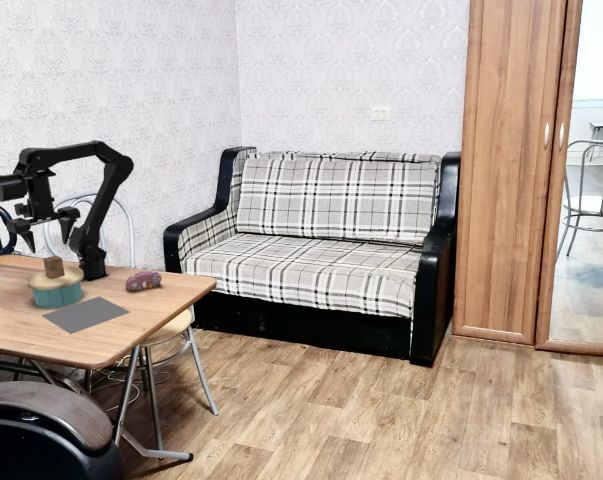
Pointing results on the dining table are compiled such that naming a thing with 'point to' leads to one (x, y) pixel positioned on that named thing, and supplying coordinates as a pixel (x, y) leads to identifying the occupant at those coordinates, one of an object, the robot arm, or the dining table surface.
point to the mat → (85, 314)
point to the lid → (55, 275)
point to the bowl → (58, 296)
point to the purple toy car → (143, 280)
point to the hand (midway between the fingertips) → (49, 248)
